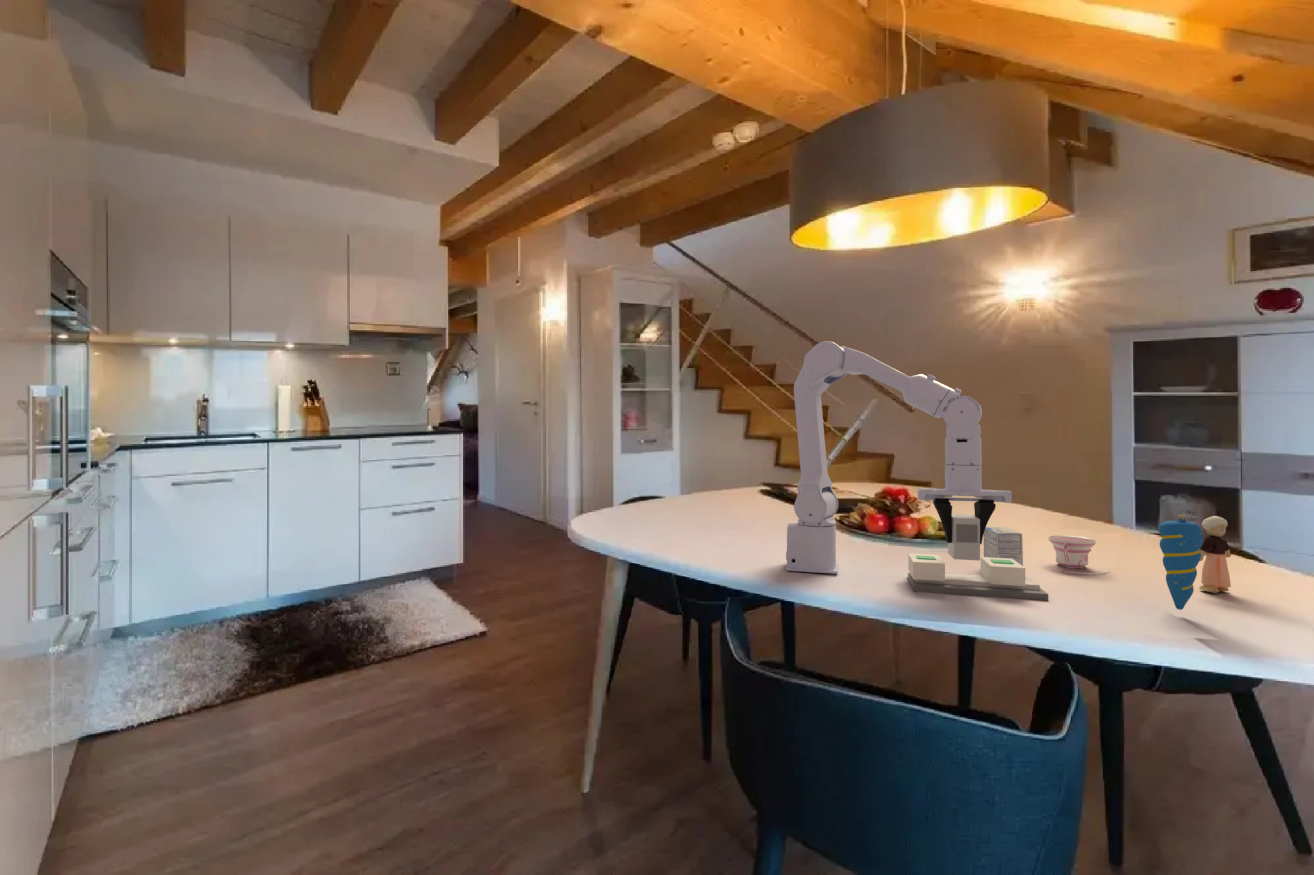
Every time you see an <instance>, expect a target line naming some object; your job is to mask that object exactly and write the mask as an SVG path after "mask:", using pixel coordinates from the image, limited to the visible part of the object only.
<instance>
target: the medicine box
mask: <svg viewBox="0 0 1314 875" xmlns="http://www.w3.org/2000/svg"><path fill="white" fill-rule="evenodd" d="M1023 549H1024V548H1023V533H1021V532H1019V531H1017V530H1015V529H1012V528H1009V527H1006V526H1005V527H1004V526H1003V527H1001V526H986V528H985V531H984V534H983V557H991V558H1010V559H1013V560H1015V561H1016V562H1018V563H1019V564H1020V565H1022V566H1023V567H1024V552H1023V551H1024V550H1023Z"/></svg>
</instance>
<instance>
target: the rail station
mask: <svg viewBox="0 0 1314 875" xmlns="http://www.w3.org/2000/svg"><path fill="white" fill-rule="evenodd" d="M907 555H908V556H907V557H908V566H907V568H908V571H909V572H907V578H908V580H909V584H910V586H911V588H912V590H913V592H921V593H923V592H924V593H937V594H953V595H964V596H965V595H968V596H977V597H978V596H979V597H980V596H981V597H995V598H1008V599H1009V598H1010V599H1025V600H1037V601H1049V592H1046V591H1045V590H1044V589H1042V588H1041V585H1040V583H1038V582H1036V581H1035V580H1034V579H1033V578H1031V577H1030V578H1029V577H1026V567H1024V565H1023V566H1022V565H1020V564H1019V563H1018V562H1016V561H1015V560H1013V559H1010V558H991V557H984V556H980V574H981V575H979V574H963V573H946V563H945V562H944V561H943V559H942V558H941V557H940V555H939V554H932V553H931V554H927V553H925V554H924V553H911V552H909V553H908V554H907Z"/></svg>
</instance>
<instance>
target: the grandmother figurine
mask: <svg viewBox="0 0 1314 875" xmlns="http://www.w3.org/2000/svg"><path fill="white" fill-rule="evenodd" d="M1228 525H1229V524H1228V521H1227V519H1225V518H1223V517H1221V516H1218V515H1212V516H1210V517H1207V518H1205V519H1203V520H1202V523H1201V527H1202V528H1203V529H1205V532H1206V534H1208V535H1207V536H1205V537H1204V539H1203V544H1202V546H1201V548H1200V553H1201V558H1200V561H1199V562H1202V561H1203V560H1204V557H1205V560H1204V562H1203V565H1202V567H1201V580H1200V582H1201V584H1202V585H1200V586H1199V587H1198V590H1201V591H1205V592H1209V593H1220V592H1228V591H1230V590H1229V588H1232V585H1231V584H1232V583H1231V578H1230V572H1229V571H1230V570H1229V567H1228V562H1227V558H1231V556H1232V553H1231V551H1230V546H1229V544H1228V542H1227V540H1226V539H1225V538H1223V536H1225V534H1226V533H1227V529H1226V528H1227V527H1228Z"/></svg>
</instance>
